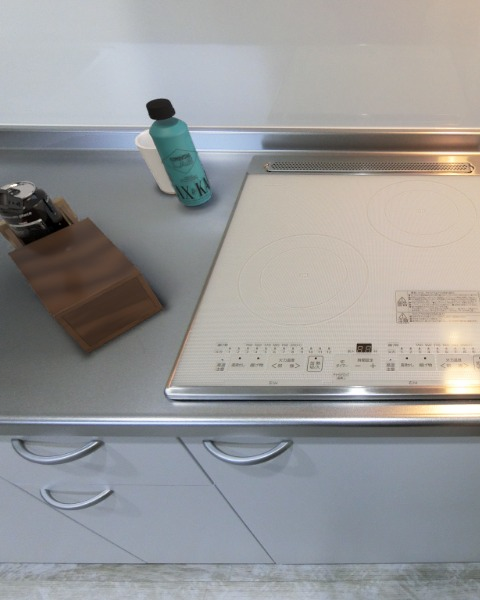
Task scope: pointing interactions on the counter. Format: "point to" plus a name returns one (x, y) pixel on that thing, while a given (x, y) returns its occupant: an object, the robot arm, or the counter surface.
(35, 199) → the beverage can
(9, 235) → the drawer
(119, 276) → the cabinet
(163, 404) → the counter surface
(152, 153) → the mug
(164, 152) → the beverage bottle
